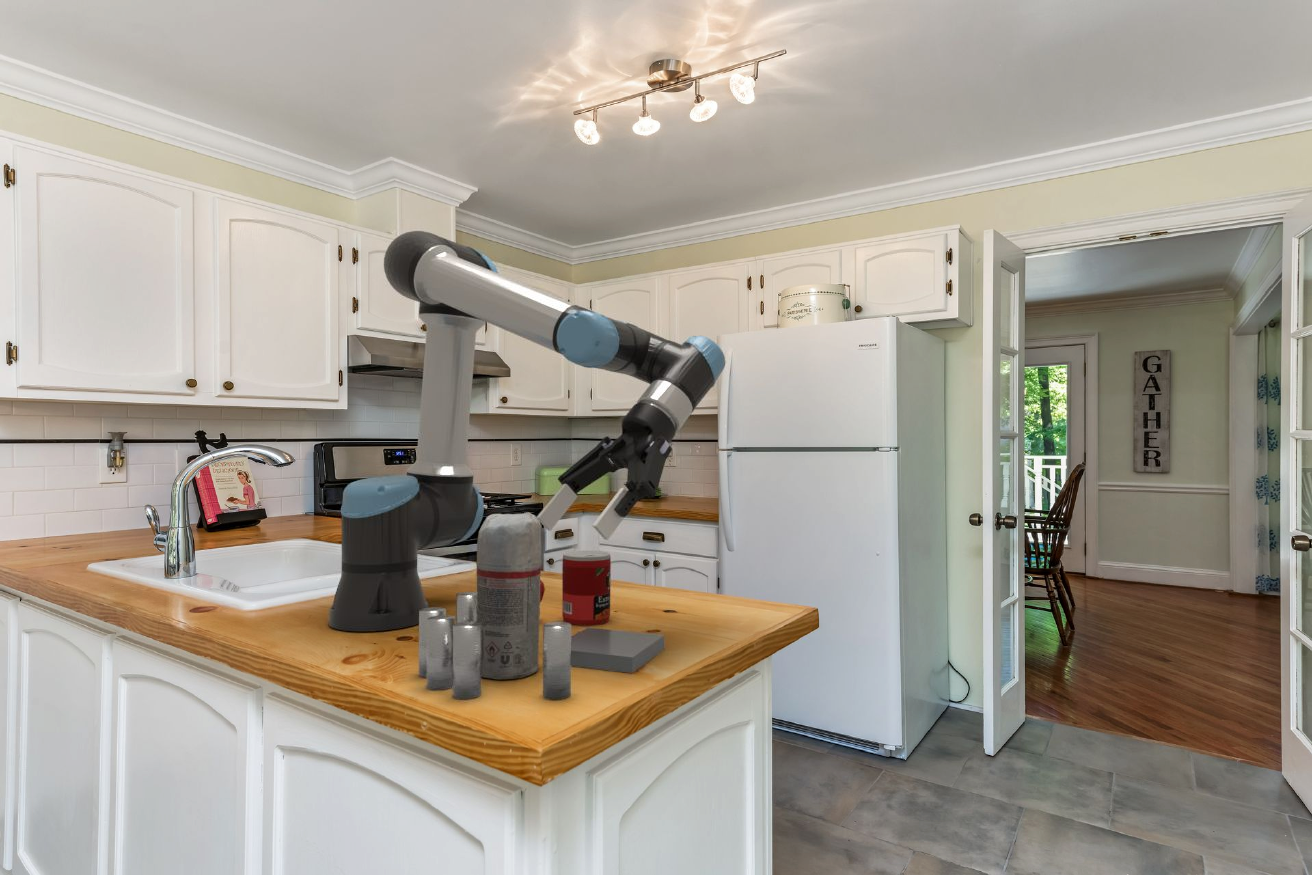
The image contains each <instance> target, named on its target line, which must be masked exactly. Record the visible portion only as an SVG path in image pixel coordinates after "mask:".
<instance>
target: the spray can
mask: <svg viewBox="0 0 1312 875" xmlns="http://www.w3.org/2000/svg"><path fill="white" fill-rule="evenodd" d="M541 535H542V523H541V522H540V521H539V519H538V518H537V516H536V515H534V514H532V513H530V512H524V513H513V514H511V513H506V514H505V513H504V514H502V513H493V514H490V515H488V516H487V517H486V518H485V520H484V521H483V523H482V525H481V526H480V529H479V531H478V536H477V541H476V542H477V543H476V592H477V597H476V598H477V605H476V613H477V618H476V619H477V621H476V622H480V623H481V624H482V647H481V678H487V679H494V680H511V679H512V680H513V679H522V678H525V677H528V676H531V675H533V674H535V673H537V672H538V671H539V669H540V663H539V643H540V640H539V639H540V620H541V619H540V615H541V608H540V607H541V606H540V605H541V603H540V580H541V576H540V575H541V573H542V572H541V571H542V545H541V544H542V542H541V541H542V539H541V538H542V536H541Z"/></svg>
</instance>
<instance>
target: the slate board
mask: <svg viewBox="0 0 1312 875" xmlns="http://www.w3.org/2000/svg"><path fill="white" fill-rule="evenodd" d="M665 637H666V636H665V634H655V633H649V632H648V633H646V632H637V631H627V630H619V629H618V630H617V629H615V630H614V629H607V628H606V629H605V628H595V627H585V628H584V629H582V630H580V631H578V632H577V633H575V634H573V635H571V667H578V668H584V669H585V668H586V669H592V670H593V669H595V670H603V671H612V672H618V673H619V672H621V673H628V674H633V673H635V672H636V671H638V670H639V669H640V668H642V667H643V666H644V665H645V664H647V663H648V662H650V661H651V660H652V659H654V658H656V656H658V655H659V654H660V653H662V652H663V651H665V647H666V646H665V644H666V643H665V642H666V641H665V639H666V638H665Z"/></svg>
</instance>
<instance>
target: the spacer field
mask: <svg viewBox="0 0 1312 875" xmlns="http://www.w3.org/2000/svg"><path fill="white" fill-rule="evenodd" d="M455 596H456V602H455V603H456V604H455V608H456V611H455V612H456V613H455V616H454V615H449V614H447V612H446V611H447V609H446V608H445V607H439V606H438V607H437V606H436V607H435V606H434V607H428V608H424V609H421V610H419V624H418V676H419V677H420V678H423V679H426V688H427V689H428V690H433V691H442V690H443V691H444V690H448V689H451V688H452V690H451V691H452V697H453V698H454V699H458V700H470V699H475V698H479V697H480V696H481V695H482V676H481V647H482V624H481V623H480V622H476V621H477V619H476V618H477V613H476V605H477V598H476V597H477V591H464V592H458V593H456V595H455ZM542 626H543V628H542V637H543V638H542V697H543V698H544V699H547V700H550V701H551V700H553V701H554V700H555V701H556V700H565V699H568V698H569V697H571V695H572V690H571V689H572V684H571V683H572V666H571V636H572V624H570V623H566V622H565V621H552V622H546V623H544V624H543V625H542Z"/></svg>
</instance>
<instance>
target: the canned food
mask: <svg viewBox="0 0 1312 875" xmlns="http://www.w3.org/2000/svg"><path fill="white" fill-rule="evenodd" d="M611 558H612V557H611V553H610V552H607V551H603V550H602V551H601V550H572V551H566V552H564V553H563V554H562V565H561V566H562V569H561V570H562V574H561V575H562V578H561V579H562V584H561V585H562V593H561V594H562V595H561V596H562V599H561V600H562V604H561V605H562V607H561V608H562V615H561V616H562V618H563V622H566V623H570V624H571V625H574V626H597V625H602V624H605V623H607V622H609V620H610V618H611V582H612V581H611V580H612V579H611V574H612V573H611V571H612V569H611V568H612V564H611V563H612V562H611Z"/></svg>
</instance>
